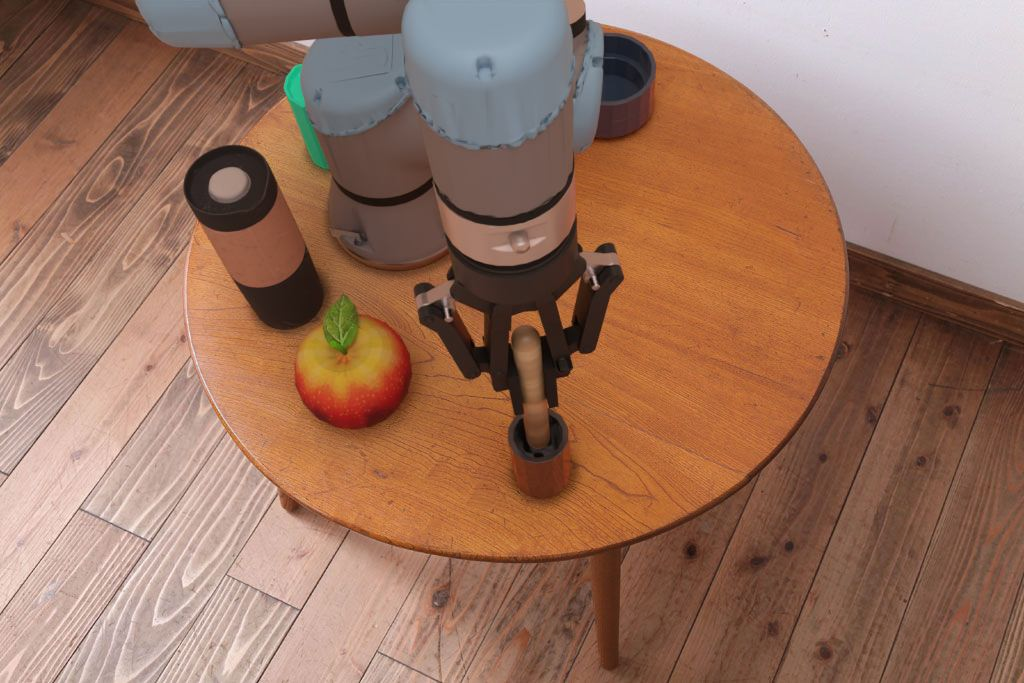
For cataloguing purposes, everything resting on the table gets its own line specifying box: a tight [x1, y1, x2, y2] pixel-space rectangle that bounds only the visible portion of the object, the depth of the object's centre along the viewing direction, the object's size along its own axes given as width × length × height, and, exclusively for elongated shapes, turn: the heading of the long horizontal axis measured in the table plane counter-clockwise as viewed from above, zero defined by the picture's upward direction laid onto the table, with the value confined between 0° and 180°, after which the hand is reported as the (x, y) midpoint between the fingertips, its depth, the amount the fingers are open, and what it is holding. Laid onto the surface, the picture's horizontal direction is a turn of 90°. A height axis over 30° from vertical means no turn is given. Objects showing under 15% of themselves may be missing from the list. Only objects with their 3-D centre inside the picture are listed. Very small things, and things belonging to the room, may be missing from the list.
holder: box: [507, 407, 572, 500], centre depth 89 cm, size 5×5×9 cm
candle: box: [283, 63, 330, 171], centre depth 107 cm, size 6×6×12 cm
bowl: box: [594, 32, 657, 139], centre depth 109 cm, size 10×10×6 cm
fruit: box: [293, 292, 413, 430], centre depth 93 cm, size 11×11×10 cm
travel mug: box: [182, 144, 324, 331], centre depth 95 cm, size 8×8×20 cm
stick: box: [510, 324, 550, 449], centre depth 77 cm, size 2×2×19 cm
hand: (532, 395), depth 78 cm, fingers closed on stick, 2 cm apart
